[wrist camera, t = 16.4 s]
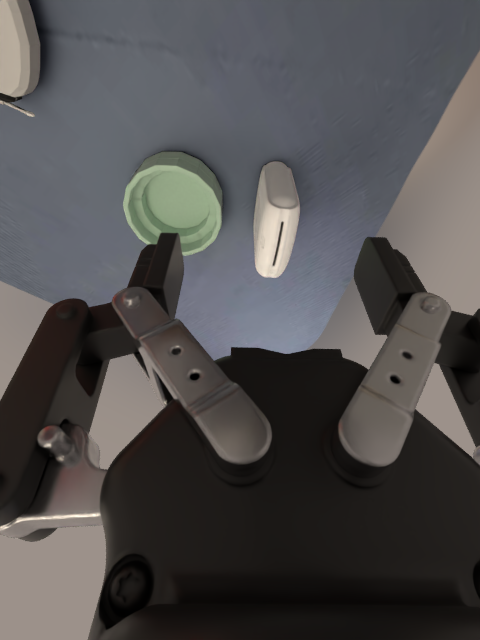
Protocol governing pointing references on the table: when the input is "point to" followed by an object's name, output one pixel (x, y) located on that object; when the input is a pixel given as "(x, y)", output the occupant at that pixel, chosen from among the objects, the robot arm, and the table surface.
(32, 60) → the robot toy
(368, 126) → the table surface
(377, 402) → the robot arm
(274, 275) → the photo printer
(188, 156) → the bowl
